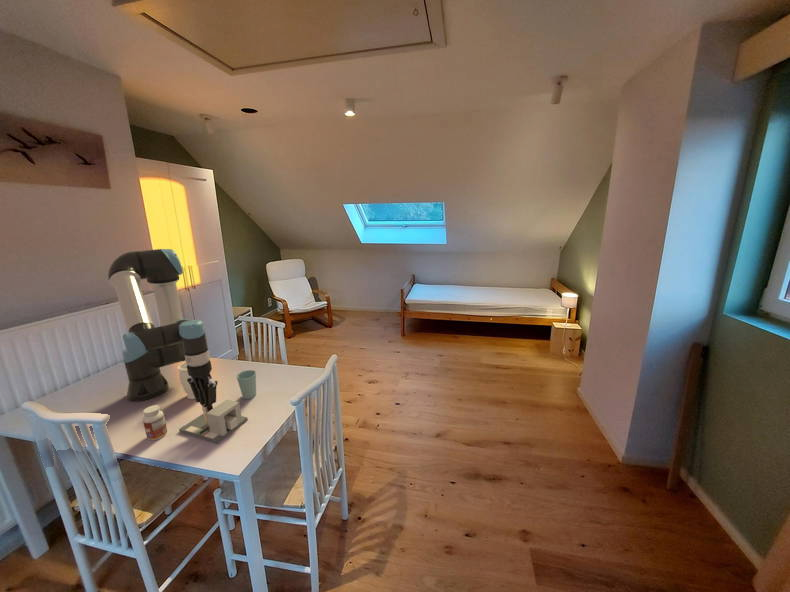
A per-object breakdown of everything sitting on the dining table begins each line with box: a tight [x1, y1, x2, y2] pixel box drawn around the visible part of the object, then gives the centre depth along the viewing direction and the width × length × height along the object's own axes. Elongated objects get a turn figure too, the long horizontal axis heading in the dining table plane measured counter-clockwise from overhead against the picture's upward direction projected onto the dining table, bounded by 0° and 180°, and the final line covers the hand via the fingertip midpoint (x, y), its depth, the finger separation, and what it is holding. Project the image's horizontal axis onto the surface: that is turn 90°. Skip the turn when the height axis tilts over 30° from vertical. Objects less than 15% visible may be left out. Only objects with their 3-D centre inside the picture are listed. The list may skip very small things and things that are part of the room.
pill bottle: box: [142, 404, 168, 441], centre depth 117 cm, size 6×6×11 cm
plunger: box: [199, 413, 238, 434], centre depth 118 cm, size 10×10×6 cm
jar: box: [177, 361, 196, 400], centre depth 143 cm, size 11×10×15 cm
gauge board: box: [178, 399, 249, 445], centre depth 122 cm, size 19×14×9 cm
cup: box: [236, 369, 257, 400], centre depth 142 cm, size 8×8×10 cm
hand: (209, 419), depth 123 cm, fingers closed
